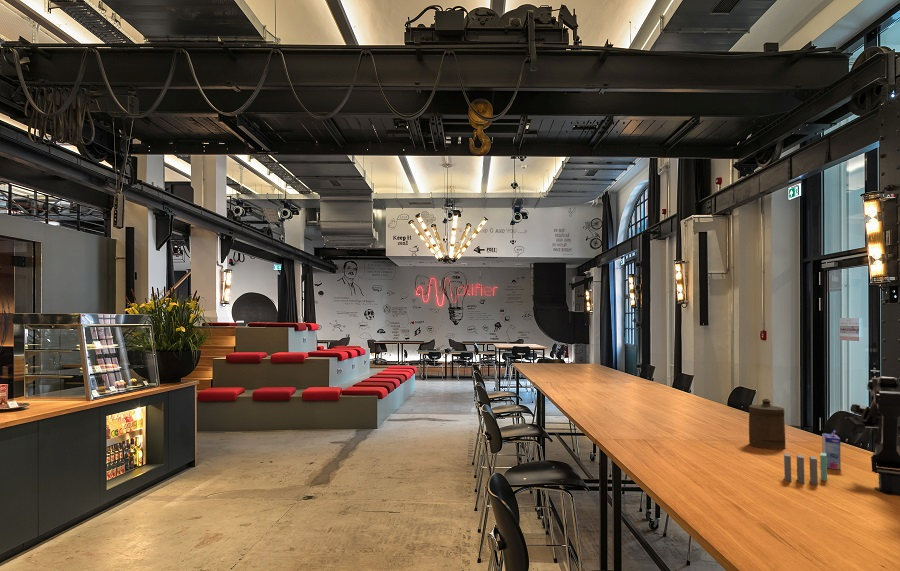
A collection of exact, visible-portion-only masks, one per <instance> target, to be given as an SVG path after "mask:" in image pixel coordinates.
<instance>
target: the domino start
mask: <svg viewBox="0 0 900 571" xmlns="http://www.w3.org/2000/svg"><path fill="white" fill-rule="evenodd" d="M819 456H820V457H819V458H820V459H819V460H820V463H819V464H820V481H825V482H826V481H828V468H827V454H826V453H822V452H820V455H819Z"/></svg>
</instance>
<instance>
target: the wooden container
mask: <svg viewBox="0 0 900 571" xmlns="http://www.w3.org/2000/svg"><path fill="white" fill-rule="evenodd" d="M771 401H772V400H770V399H769V398H763V399H762V401H761V402H762V403H761V404H750V405H749V406H748V436H749V437H748V442H749V443H748V444H749V446H752V447H754V446H755V448H758V447H759V449H764V448H765V450H774V449H780V450H784V449H787V448H786V447H787V446H786V426H785V425H786V424H785V414H786V412H785V408H784V407H781V406H775V405H772V404H771Z"/></svg>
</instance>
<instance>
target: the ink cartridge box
mask: <svg viewBox="0 0 900 571" xmlns="http://www.w3.org/2000/svg"><path fill="white" fill-rule="evenodd" d="M836 432H837V431H836V430H835V429H834V430H833V431H832V432H831V433H821V435H822V436H821V439H822V440H821V442H822V443H821V453H826V454H827V469H833V470H839V471H841V468H842V467H841V465H842V464H841V459H842V458H841V438H840V437H839V436H838V434H836Z"/></svg>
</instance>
